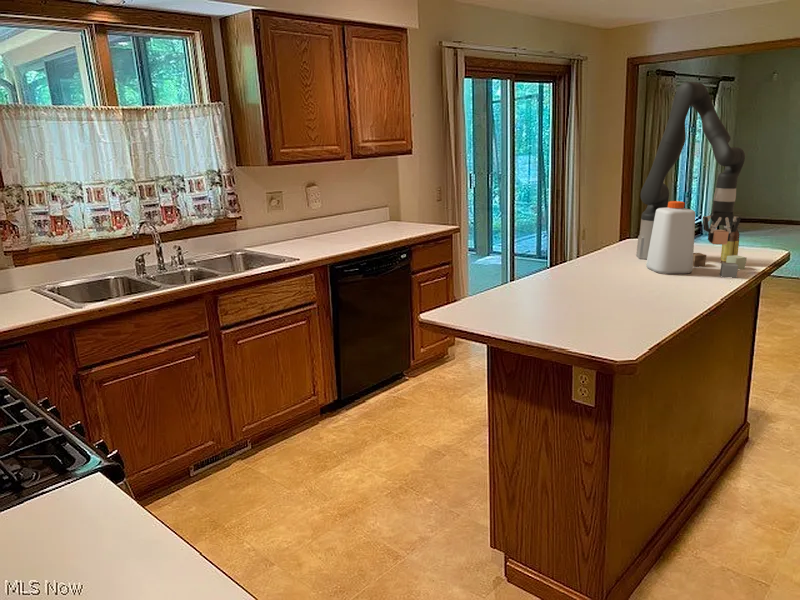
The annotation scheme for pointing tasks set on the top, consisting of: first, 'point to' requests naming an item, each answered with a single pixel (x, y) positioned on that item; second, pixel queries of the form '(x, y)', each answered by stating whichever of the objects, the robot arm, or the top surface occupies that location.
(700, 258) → the walnut cube
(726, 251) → the sauce bottle
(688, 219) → the plastic bottle
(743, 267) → the sage cube
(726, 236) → the terracotta cube
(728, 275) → the slate cube
